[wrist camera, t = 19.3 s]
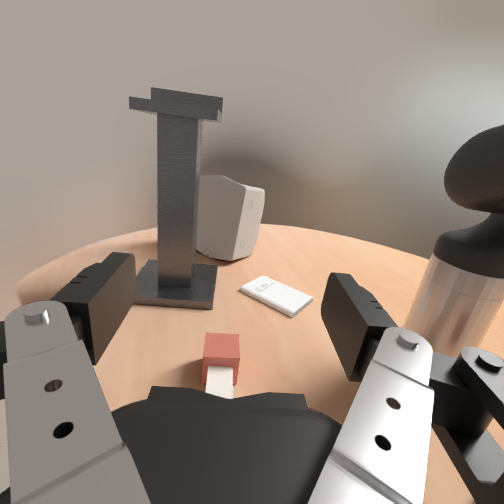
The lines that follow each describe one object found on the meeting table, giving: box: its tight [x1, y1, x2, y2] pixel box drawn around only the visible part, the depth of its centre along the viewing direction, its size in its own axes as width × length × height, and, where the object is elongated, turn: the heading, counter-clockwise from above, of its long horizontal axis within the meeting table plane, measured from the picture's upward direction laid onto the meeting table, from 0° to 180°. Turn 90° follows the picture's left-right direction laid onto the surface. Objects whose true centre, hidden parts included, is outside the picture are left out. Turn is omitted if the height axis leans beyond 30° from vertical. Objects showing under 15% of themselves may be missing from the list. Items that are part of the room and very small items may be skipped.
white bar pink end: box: [201, 333, 240, 399], centre depth 31 cm, size 18×4×4 cm, turn 4°
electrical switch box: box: [196, 175, 265, 261], centre depth 75 cm, size 15×15×20 cm
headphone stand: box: [129, 88, 223, 310], centre depth 50 cm, size 15×15×34 cm
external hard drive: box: [240, 276, 313, 318], centre depth 57 cm, size 2×8×12 cm
